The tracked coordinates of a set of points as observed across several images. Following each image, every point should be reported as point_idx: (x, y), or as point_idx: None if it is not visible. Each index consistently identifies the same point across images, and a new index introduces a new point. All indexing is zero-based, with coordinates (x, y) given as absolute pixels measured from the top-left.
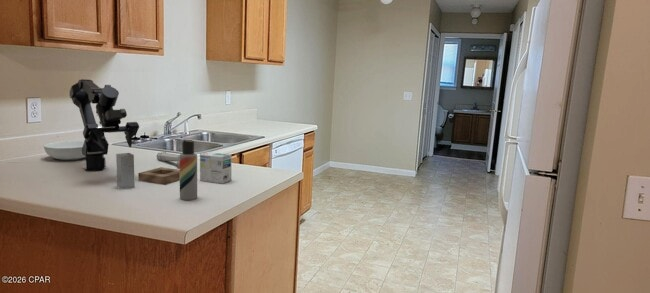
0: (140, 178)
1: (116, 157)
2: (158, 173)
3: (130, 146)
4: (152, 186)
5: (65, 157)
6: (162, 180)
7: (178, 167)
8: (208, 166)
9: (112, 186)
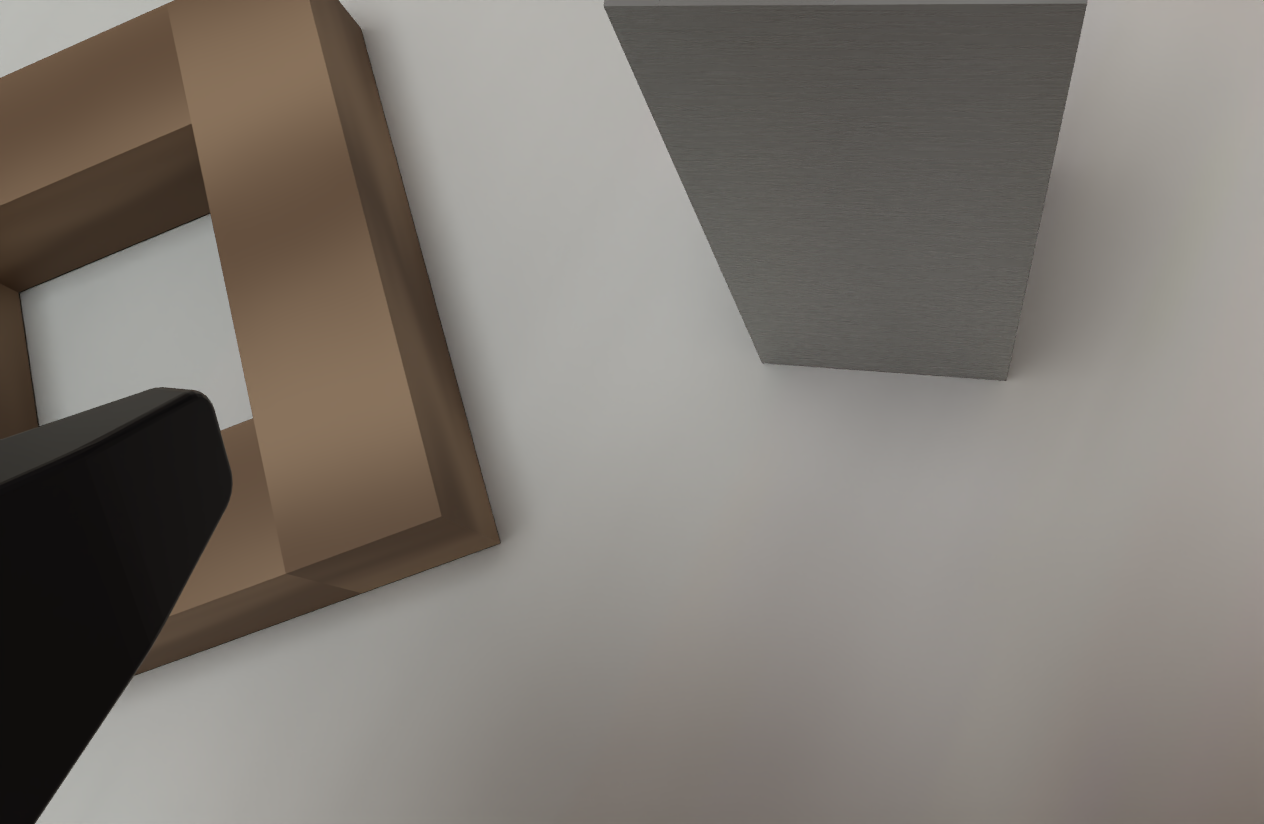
0: (469, 486)
1: (1072, 61)
2: None
3: (214, 412)
4: (548, 39)
5: None
6: (340, 26)
7: None
8: None
9: (1085, 427)
